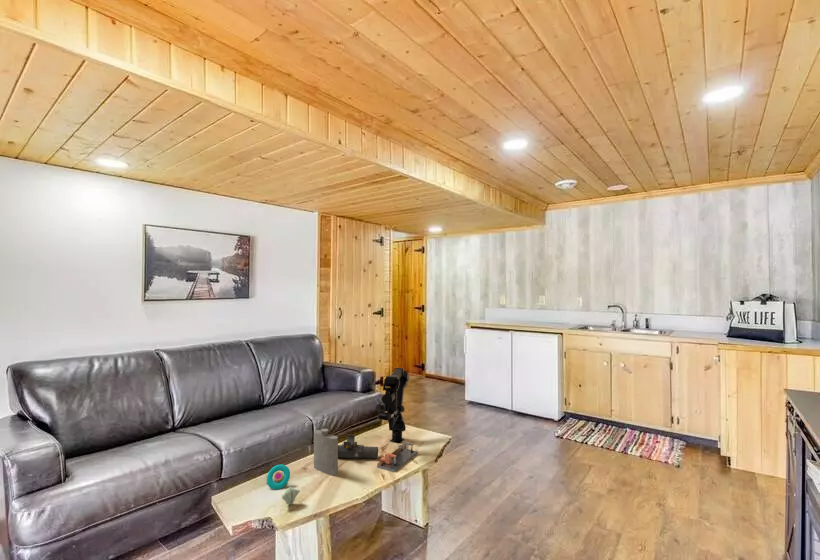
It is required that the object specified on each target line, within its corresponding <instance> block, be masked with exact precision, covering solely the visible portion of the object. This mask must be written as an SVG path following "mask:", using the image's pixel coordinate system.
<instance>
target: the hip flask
mask: <svg viewBox="0 0 820 560" xmlns="http://www.w3.org/2000/svg"><path fill="white" fill-rule="evenodd" d="M338 445H339V437H338V436H336V435H332V434H330V433H329V428H322V429H316V430H314V431H313V468H314V469H316V470H317V471H318V472H321V473H323V474H325V475H328V476H333V477H334V476H335V477H336V476H337V475H339V473H338V472H339V470H338V469H339V462H338V461H339V457H338Z"/></svg>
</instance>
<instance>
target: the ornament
mask: <svg viewBox="0 0 820 560" xmlns="http://www.w3.org/2000/svg"><path fill="white" fill-rule="evenodd" d="M290 479H291V471H290V469H289V467H288V466H287V465H285V464H282V463H281V464H277V465H274V466H273V467H272V468H271V469H270V470H269V471H268V472H267V475H266V484H267V486H268V487H269V488H270V489H271V490H281V489H283V488H284V487H285V486H286V485H287V484H288V482H290V481H289V480H290Z"/></svg>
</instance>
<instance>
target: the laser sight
mask: <svg viewBox="0 0 820 560" xmlns="http://www.w3.org/2000/svg"><path fill="white" fill-rule="evenodd" d="M355 436H356V434H347V440H346V441H345V440H344V441H343V443H342V444H338V458H340V459H356V460H357V459H358V460H361V459H362V460H363V459H378V457H379V447H378V446H365V445H364V444H358V441H355Z"/></svg>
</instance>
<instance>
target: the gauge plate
mask: <svg viewBox="0 0 820 560" xmlns="http://www.w3.org/2000/svg"><path fill="white" fill-rule="evenodd" d="M413 445H414V443H413V442H409V441H406V440H403V441H402V442H401V444H400V445H398V446H397V449H395V450H394V451H392V452H390V453H391V454H393V455H396V464H394V457H392V461H391V463H390V464H387V463H385V461H381V460H380V461H378V463H377V464H376V467H377V468H378V469H381V470H385V471H389V472H393V473H395V472H397V471H398V470H399V469H400V468H402V467H404V465H406V464H407V463H408V462H410V460H412V459H413V458H414V457H415V456H417V455H418V454H419V453H418V451H417V450H413ZM409 446H410V449H409Z"/></svg>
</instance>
